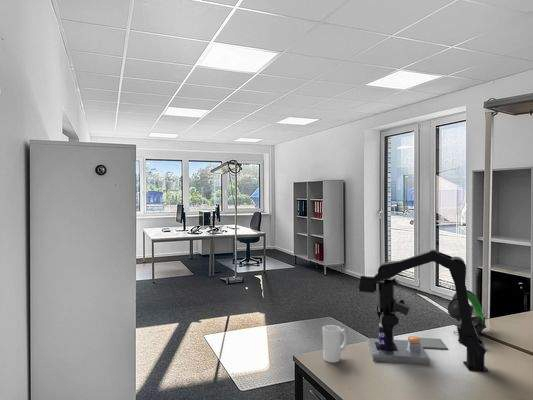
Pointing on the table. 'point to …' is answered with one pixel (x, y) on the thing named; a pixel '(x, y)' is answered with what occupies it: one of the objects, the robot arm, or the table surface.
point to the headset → (477, 320)
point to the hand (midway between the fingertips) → (386, 334)
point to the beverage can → (385, 340)
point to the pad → (432, 343)
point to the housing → (399, 352)
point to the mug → (333, 343)
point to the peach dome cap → (414, 340)
